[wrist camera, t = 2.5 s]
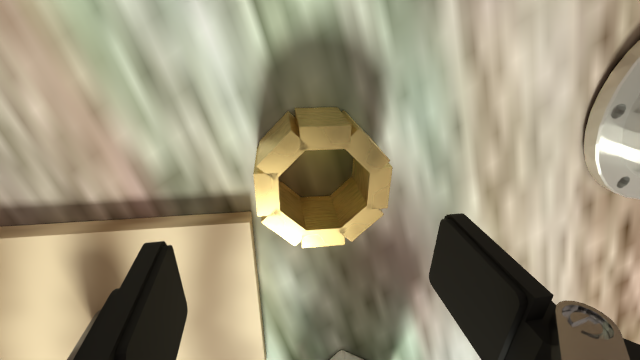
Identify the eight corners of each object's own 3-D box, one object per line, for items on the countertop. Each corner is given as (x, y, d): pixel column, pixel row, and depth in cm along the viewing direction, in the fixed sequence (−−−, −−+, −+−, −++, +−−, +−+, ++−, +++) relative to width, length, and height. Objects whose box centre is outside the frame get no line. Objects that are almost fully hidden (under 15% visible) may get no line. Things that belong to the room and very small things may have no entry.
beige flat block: (251, 211, 19) (241, 286, 14) (266, 357, 25) (264, 449, 20) (-87, 232, 17) (-262, 332, 11) (21, 386, 23) (-58, 499, 18)
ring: (375, 106, 17) (397, 124, 14) (366, 208, 20) (383, 241, 17) (253, 109, 16) (249, 128, 13) (262, 214, 19) (260, 251, 16)
